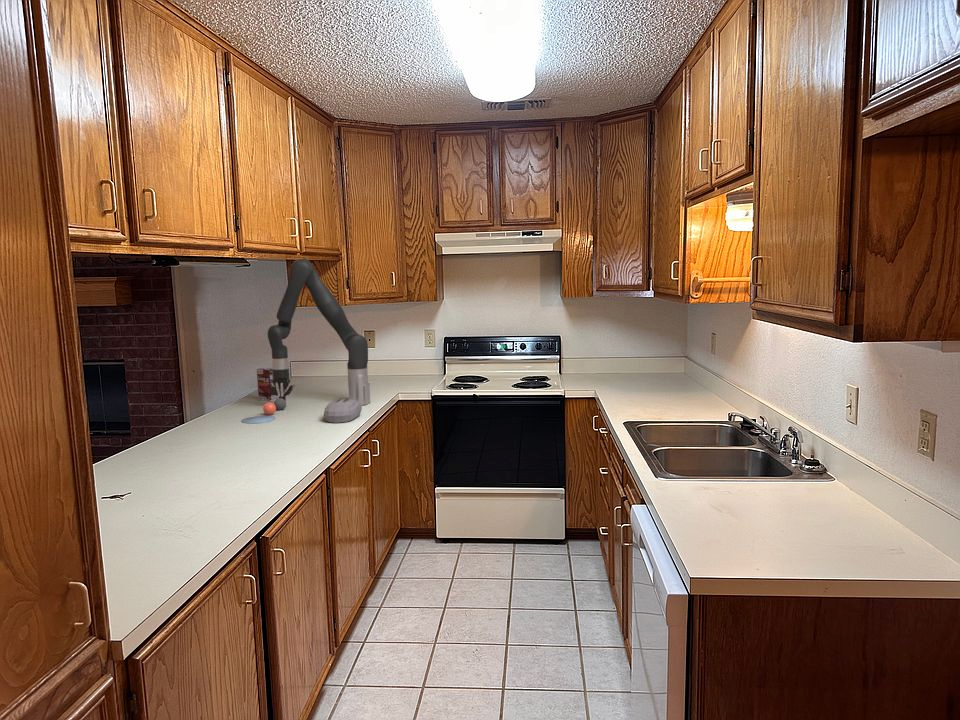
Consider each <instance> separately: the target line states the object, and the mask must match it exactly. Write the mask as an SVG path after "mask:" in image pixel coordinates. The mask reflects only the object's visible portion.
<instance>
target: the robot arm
mask: <svg viewBox="0 0 960 720" xmlns="http://www.w3.org/2000/svg"><path fill="white" fill-rule="evenodd" d="M302 258H303V259H298V258H297V259H298V260H296V259H295V260H294V261H293V262H292V264H291V265H290V271H289V277H288V282H287V283H288V284H287V286H286V290H285V293H284V295H283V297H282V298H281V299H282V300H281V302H280V304H279V307H278V310H277V312H276V319H277V320H278V322H277V324H273V325H271V326H269V328H268V329H267V338H268V339H267V340H268V342H269V345H270V349H271V369H272V376H273V381H272V383H271V384H270V385H268V387H269V388H270V389H271V391H272V392H273V393H274V395H277V398H282V399H284V400H285V401H286V402H287V396H289V395H290V394H291V393H292V391H293V390H294V389H295V387H296V385H295V384H293V383H291V380H290V364H289V363H290V362H289V354H288V352H289V351H288V347H287V346H286V345H285V344H284V343H283V340H286V339H287V338H288V337H289V336H290V333H291V329H292V320H293V318H294V315H295V312H296V310H297V309H296V308H297V305H298V302H299V299H300V294H301V293H302V289H303V287H304V286H305V287H306V288H307V289H308V292H309V293H310V296H311V298H312V299H313V302H314V304H315V306H316V308H317V310H318V311H319V312H320V314H321V315H322V316H323V318H324V319H325V320H326V321H327V323H328V324H329V326H331V327H332V328H333V329H334V331H335V332H336V333H337V335H338V336H339V338H340V339H341V341H342V344H343V345H344V347H345V348H346V350H347V353H348V362H347V365H346V367H347V383H348V384H347V385H348V398H349V400H357V401H359V402H360V403H361V406H367V405H369V404H371V387H370V382H369V380H368V379H369V377H368V376H369V375H368V361H369V346H368V340H367V339H366V337H365V336H364V335H361V334H359V333H358V332H357V331H356V330H355V329H354V326H352V325H351V324H350V322H349V320H348V318H347V315H346V313H345V310H344V308H343V307H342V306H341V304H340V303H339V301H338V299H336V297H335V295H333V293H332V292H331V291H330V289H329V288H328V287H327V285H326V284H325V283H324V282H323V281H322V279H321V277H320V276H319V274H318V272H317V270H316V269H315V267H314V265H313V264H312V263H311V261H310V260H309V259H307V258H305V257H302ZM275 387H276V388H275Z"/></svg>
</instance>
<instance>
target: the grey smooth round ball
mask: <svg viewBox="0 0 960 720" xmlns="http://www.w3.org/2000/svg"><path fill="white" fill-rule="evenodd" d="M273 404H274V405H275V406H276V411H277V410H278V411H282V410H283V411H284V409H285V408H286V407H287V400H286V401H285V400H284V399H282V398H279V397H277V399H276V400H275V401H273Z"/></svg>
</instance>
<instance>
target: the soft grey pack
mask: <svg viewBox="0 0 960 720" xmlns="http://www.w3.org/2000/svg"><path fill="white" fill-rule="evenodd" d="M362 406H363V405H361V403H360V402H359V401H357V400H349V397H347V398H345V399H343V398H338V399H337V400H334V401H332V402H329V403H328V404H327V405H326V406H325V408H324V411H323V417H324V420H325V422H327V423H334V424H335V423H336V424H337V423H338V424H339V423H346V422H350V421H353V420H356V419H357V418H358V417H359V415H360V414H361V413H362V410H363V407H362Z"/></svg>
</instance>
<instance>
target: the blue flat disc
mask: <svg viewBox="0 0 960 720" xmlns="http://www.w3.org/2000/svg"><path fill="white" fill-rule="evenodd" d="M274 420H276V417H275V416H273V415H256V416H250V417H249V416H248V417H246V418H243V419H241V420H240V422H241V423H242V424H251V425H252V424H262V423H263V424H264V423H267V422H268V423H269V422H272V421H274Z"/></svg>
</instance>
